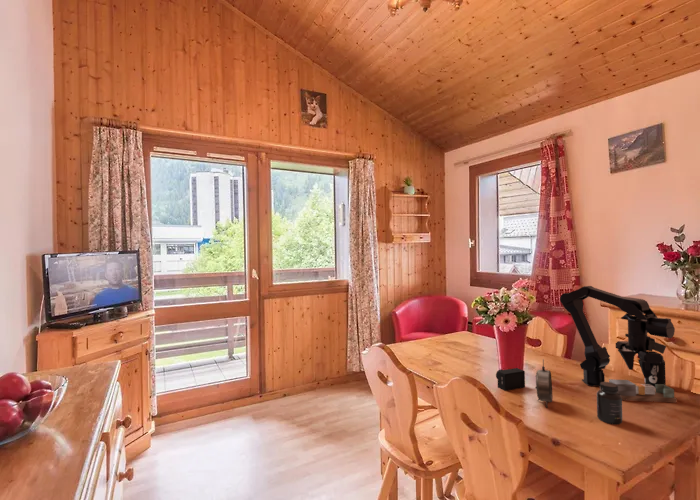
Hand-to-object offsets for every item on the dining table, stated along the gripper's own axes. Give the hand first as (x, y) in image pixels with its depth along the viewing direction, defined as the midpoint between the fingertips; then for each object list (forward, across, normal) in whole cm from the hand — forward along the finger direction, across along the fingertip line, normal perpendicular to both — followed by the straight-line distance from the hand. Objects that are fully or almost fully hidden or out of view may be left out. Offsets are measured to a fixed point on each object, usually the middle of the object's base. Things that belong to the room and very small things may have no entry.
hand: (638, 373), depth 135 cm
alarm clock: (+9, -9, +36) cm, 39 cm away
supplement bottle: (+9, -21, +20) cm, 31 cm away
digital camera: (+10, +6, +44) cm, 46 cm away
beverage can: (+9, +13, -14) cm, 21 cm away
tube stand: (+9, 0, -1) cm, 9 cm away
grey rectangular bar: (+7, 0, +2) cm, 8 cm away
